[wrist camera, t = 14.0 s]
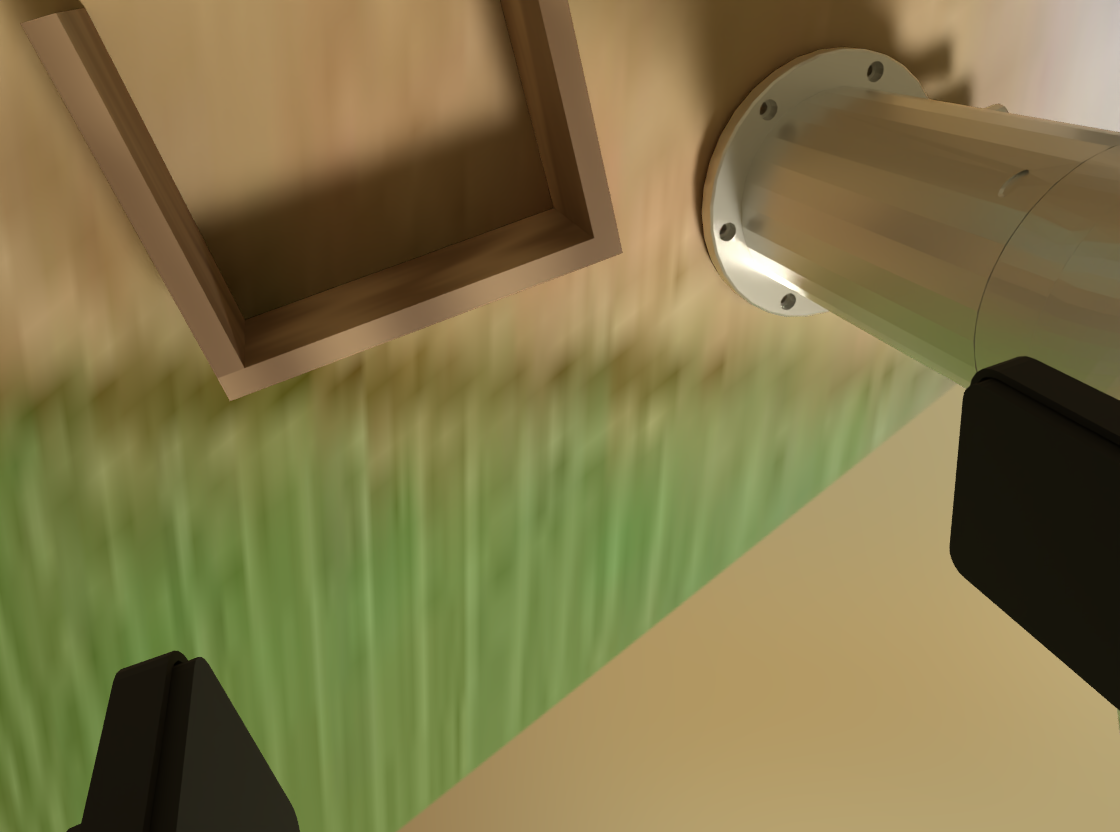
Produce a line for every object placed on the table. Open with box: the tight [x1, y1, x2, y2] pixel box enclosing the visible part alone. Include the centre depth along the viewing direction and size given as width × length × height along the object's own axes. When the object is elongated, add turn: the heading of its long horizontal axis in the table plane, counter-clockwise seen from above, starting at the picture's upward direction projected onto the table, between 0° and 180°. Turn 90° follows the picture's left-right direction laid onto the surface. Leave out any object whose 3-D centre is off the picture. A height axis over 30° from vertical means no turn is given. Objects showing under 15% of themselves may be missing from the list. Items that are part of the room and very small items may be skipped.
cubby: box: [20, 0, 623, 401], centre depth 30 cm, size 16×13×5 cm
